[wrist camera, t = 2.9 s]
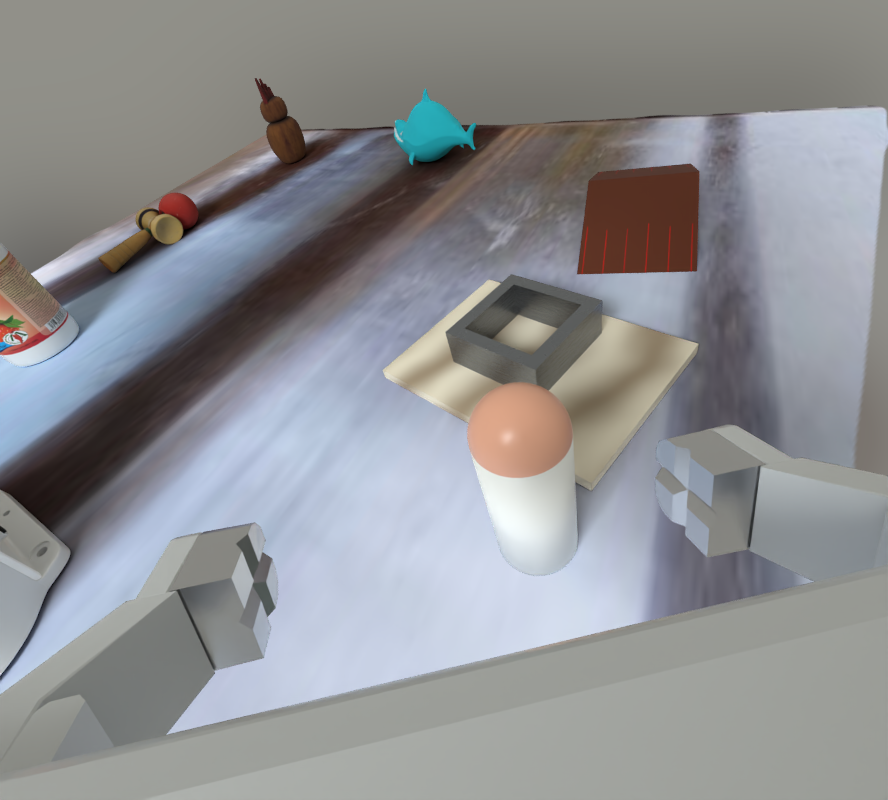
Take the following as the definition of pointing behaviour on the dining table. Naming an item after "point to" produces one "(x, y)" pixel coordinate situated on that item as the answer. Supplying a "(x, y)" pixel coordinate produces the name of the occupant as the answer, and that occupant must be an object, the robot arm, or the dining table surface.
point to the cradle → (535, 302)
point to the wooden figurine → (281, 127)
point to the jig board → (580, 389)
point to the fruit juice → (29, 317)
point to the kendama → (155, 228)
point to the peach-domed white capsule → (527, 475)
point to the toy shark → (431, 132)
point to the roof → (641, 221)
